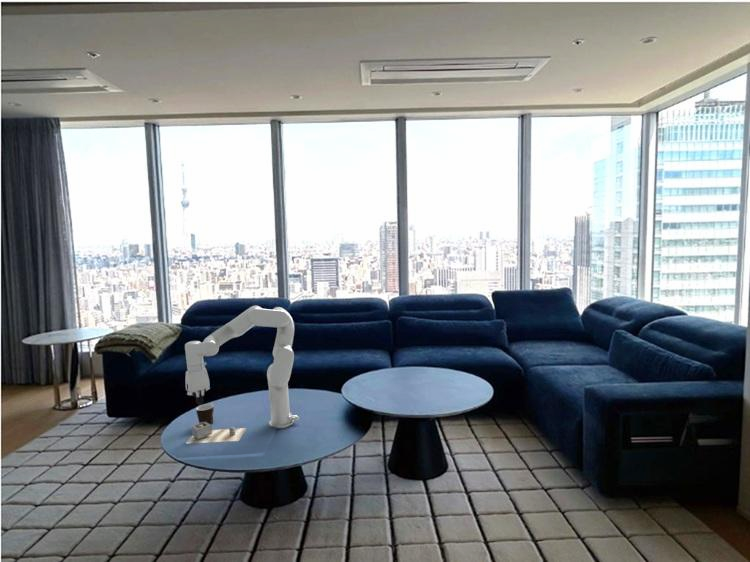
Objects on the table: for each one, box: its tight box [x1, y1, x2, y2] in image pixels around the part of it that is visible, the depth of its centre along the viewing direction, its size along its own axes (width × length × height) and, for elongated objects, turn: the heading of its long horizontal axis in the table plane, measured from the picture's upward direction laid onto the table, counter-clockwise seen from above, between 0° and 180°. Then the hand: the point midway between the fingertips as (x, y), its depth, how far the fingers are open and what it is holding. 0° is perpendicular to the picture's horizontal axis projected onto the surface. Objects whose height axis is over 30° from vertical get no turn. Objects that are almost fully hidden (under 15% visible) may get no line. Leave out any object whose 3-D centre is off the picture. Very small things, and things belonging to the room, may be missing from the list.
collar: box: [190, 421, 213, 439], centre depth 223 cm, size 7×7×4 cm
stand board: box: [185, 425, 247, 445], centre depth 223 cm, size 25×14×7 cm, turn 90°
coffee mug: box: [195, 403, 215, 426], centre depth 240 cm, size 12×9×10 cm
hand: (200, 403), depth 222 cm, fingers closed
